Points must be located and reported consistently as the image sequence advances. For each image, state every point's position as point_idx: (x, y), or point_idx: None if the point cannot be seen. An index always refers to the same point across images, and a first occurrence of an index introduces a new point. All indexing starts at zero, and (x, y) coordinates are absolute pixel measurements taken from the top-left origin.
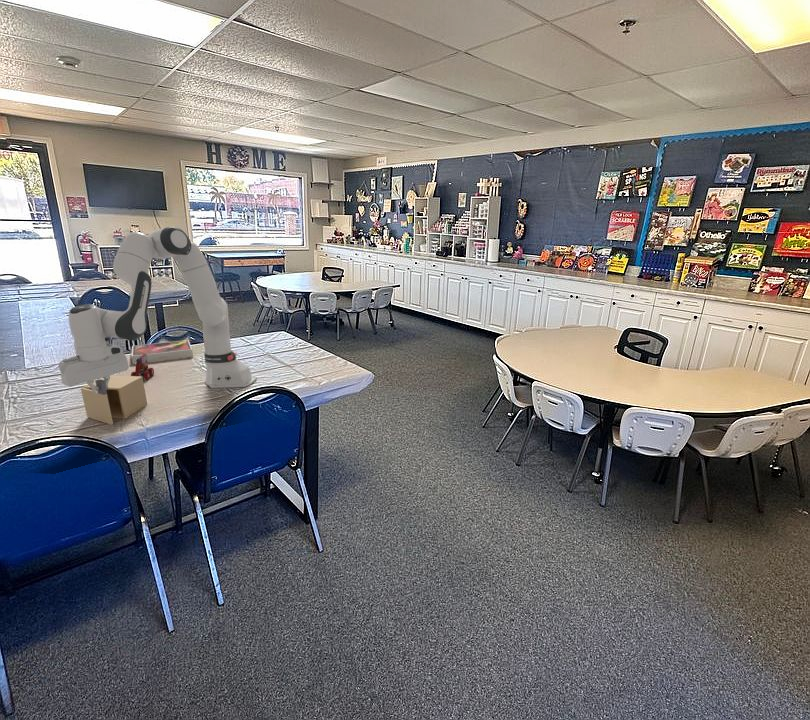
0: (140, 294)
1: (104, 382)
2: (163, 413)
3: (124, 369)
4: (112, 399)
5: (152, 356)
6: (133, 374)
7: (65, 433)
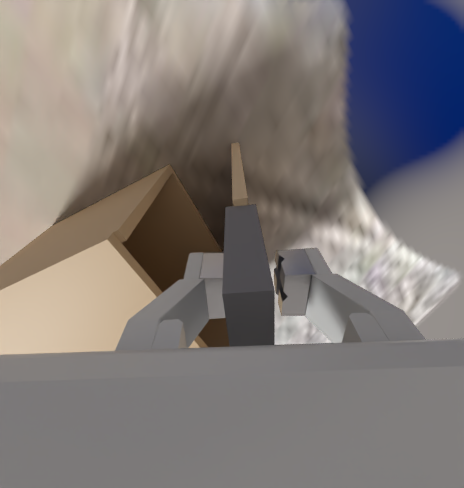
0: None
1: (228, 274)
2: (5, 46)
3: None
4: None
5: None
6: None
7: (358, 220)
